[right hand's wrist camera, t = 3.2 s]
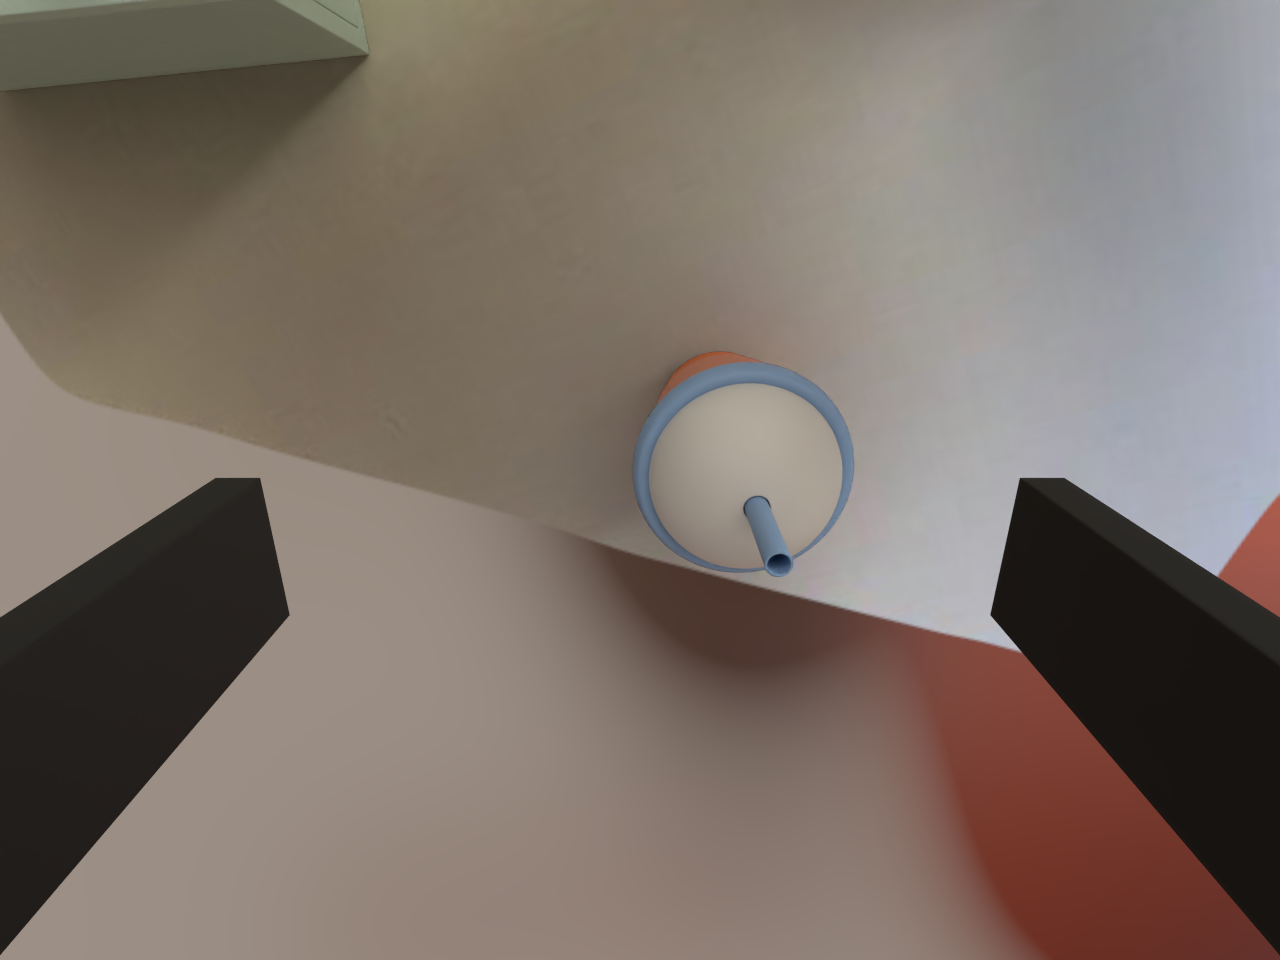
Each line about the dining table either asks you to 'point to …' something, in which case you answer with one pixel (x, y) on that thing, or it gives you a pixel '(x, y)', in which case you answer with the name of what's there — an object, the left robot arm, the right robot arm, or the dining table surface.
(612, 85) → the dining table surface
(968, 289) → the dining table surface
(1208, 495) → the dining table surface
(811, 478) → the cup with straw
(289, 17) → the chest
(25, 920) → the right robot arm
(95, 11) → the lid
